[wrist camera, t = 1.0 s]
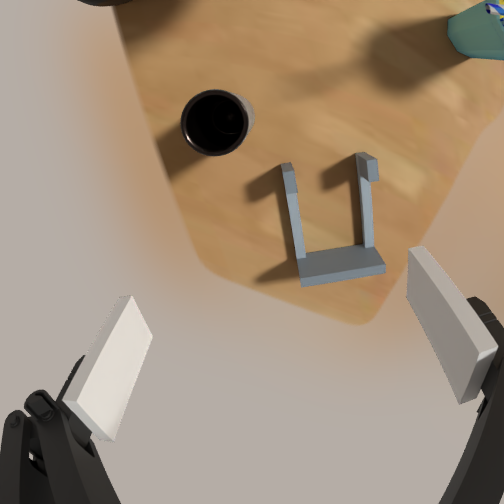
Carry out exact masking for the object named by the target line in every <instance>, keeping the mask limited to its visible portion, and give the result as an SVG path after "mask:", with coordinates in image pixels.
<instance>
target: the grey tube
mask: <svg viewBox="0 0 504 504" xmlns="http://www.w3.org/2000/svg"><path fill="white" fill-rule="evenodd" d="M254 121H255V113H254V109H253V107H252V105H251V104H250V102H249V101H248V100H247V99H246V98H244V97H242V96H240V95H237V94H234V93H231V92H228V91H224V90H219V89H212V90H206V91H203V92H201V93H199V94H197V95H195V96H194V97H193V98H192V99H191V100H190V101H189V102H188V103H187V104H186V106H185V108H184V110H183V112H182V115H181V122H180V124H181V131H182V135H183V137H184V139H185V141H186V142H187V143H188V145H189V146H190V147H191V148H192V149H194V150H195V151H197V152H198V153H201V154H203V155H207V156H222V155H226V154H228V153H230V152H232V151H234V150H235V149H237V148H238V147H239V146H240V145H241V144H242V142H243V141H244V140H245V138H246V136H247V135H248V133H249V132H250V130H251V129H252V127H253V124H254Z"/></svg>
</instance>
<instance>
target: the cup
mask: <svg viewBox="0 0 504 504" xmlns="http://www.w3.org/2000/svg"><path fill="white" fill-rule="evenodd" d="M447 36H448V37H449V39H450V40H451V42H452V44H453V45H454V47H455V48H456V50H457V51H458V52H460V53H462V54H464V55H466V56H468V57H470V58H481V59H494V60H504V0H485V1H483V2H481V3H479V4H477V5H475V6H473V7H471V8H469V9H467V10H465V11H463V12H461V13H459V14H457V15H456V16H454V17H452V18H450V19H448V30H447Z"/></svg>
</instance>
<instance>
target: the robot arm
mask: <svg viewBox="0 0 504 504" xmlns="http://www.w3.org/2000/svg"><path fill="white" fill-rule="evenodd" d="M78 1H81V2H83V3H86V4H89V5H93V6H113V5H119V4H123V3H126V2H129V1H132V0H78ZM407 300H408V301H409V303H410V305H411V307H412V309H413V310H414V312H415V314H416V316H417V318H418V320H419V321H420V324H421V325H422V327H423V329H424V331H425V333H426V335H427V337H428V339H429V341H430V343H431V345H432V347H433V349H434V351H435V353H436V355H437V357H438V359H439V361H440V363H441V365H442V367H443V369H444V372H445V374H446V376H447V378H448V380H449V383H450V385H451V387H452V389H453V391H454V394H455V396H456V398H457V401H458V403H459V404H462V403H465V402H468V401H470V400H473V399H475V398H477V395H478V393H479V391H480V389H482V391H483V393H484V395H485V397H484V399H483V401H482V403H481V405H480V407H479V409H478V410H477V412H478V416H477V419H476V422H475V425H474V427H473V430H472V433H471V435H470V438H469V440H468V443H467V445H466V448H465V450H464V453H463V455H462V457H461V459H460V462H459V464H458V466H457V468H456V471H455V473H454V475H453V477H452V479H451V481H450V483H449V485H448V487H447V489H446V491H445V493H444V495H443V497H442V498H441V500H440V502H439V504H499V503H500V500H501V498H502V495H503V492H504V328H503V326H502V325H501V323H500V322H499V321H498V320H497V319H496V317H495V315H494V314H493V313H492V312H491V310H490V309H489V307H488V306H487V305H486V303H485V302H483V301H482V300H480V299H478V298H477V297H471V298H468V299H465V297H464V296H463V295H462V293H461V292H460V291H459V289H458V288H457V287H456V285H455V284H454V283H453V282H452V280H451V279H450V278H449V277H448V275H447V274H446V273H445V272H444V270H443V269H442V268H441V266H440V265H439V264H438V263H437V261H436V260H435V259H434V258H433V257H432V255H431V254H430V253H429V252H428V251H427V249H426V248H425V247H424V246H418V247H413V248H408V280H407ZM152 338H153V336H152V334H151V332H150V330H149V328H148V327H147V324H146V322H145V320H144V319H143V317H142V314H141V312H140V311H139V308H138V306H137V304H136V303H135V300H134V298H133V296H132V295H131V296H124V297H119V299H118V300H117V302H116V304H115V305H114V307H113V309H112V311H111V312H110V314H109V315H108V317H107V319H106V320H105V322H104V324H103V326H102V327H101V329H100V331H99V333H98V334H97V336H96V338H95V340H94V341H93V343H92V345H91V347H90V348H89V350H88V352H87V354H86V355H83V356H82V357H81V358H80V359H79V360H78V361H77V362H76V364H75V366H74V367H73V370H72V371H71V372H72V373H70V375H69V377H68V380H66V382H65V384H64V386H63V388H62V390H61V392H60V394H59V396H58V397H57V399H56V401H54V400H53V399H52V398H51V396H50V395H49V394H48V393H47V392H46V391H45V390H37V391H35V392H33V393H32V394H30V395H29V397H28V398H27V399H26V402H25V404H24V409H25V410H26V411H27V412H28V413H29V414H30V415H31V417H27V416H26V415H25V414H24V413H23V412H22V411H20V410H15V411H13V412H12V413H10V414H9V415H8V417H7V418H6V420H5V423H4V429H3V436H2V443H1V451H0V504H121V503H120V501H119V499H118V497H117V495H116V493H115V491H114V488H113V486H112V484H111V482H110V480H109V478H108V476H107V473H106V471H105V469H104V467H103V464H102V462H101V459H100V457H99V455H98V452H97V450H96V447H95V445H94V443H93V441H92V440H91V439H90V436H91V433H93V434H95V436H96V437H97V438H98V439H99V440H104V441H112V442H114V440H115V437H116V434H117V431H118V428H119V425H120V423H121V420H122V417H123V414H124V412H125V409H126V406H127V403H128V401H129V398H130V395H131V392H132V389H133V387H134V384H135V382H136V379H137V376H138V373H139V371H140V369H141V366H142V363H143V361H144V358H145V356H146V353H147V350H148V348H149V346H150V343H151V340H152ZM29 452H30V453H31V454H32V455H33V460H31V459H30V458H29Z"/></svg>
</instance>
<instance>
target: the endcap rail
mask: <svg viewBox="0 0 504 504" xmlns="http://www.w3.org/2000/svg"><path fill="white" fill-rule="evenodd" d="M355 157H356V165H357V174H358V184H359V195H360V206H361V220H362V235H363V244H359V245H353V246H347V247H341V248H335V249H329V250H323V251H316V252H310V253H305V246H304V239H303V232H302V225H301V219H300V212H299V206H298V200H297V193H298V191H297V185H296V179H295V173H294V169H293V167H292V164H291V162H289V163H283V164H281V168H282V174H283V179H284V185H285V191H286V196H287V202H288V208H289V214H290V220H291V226H292V232H293V238H294V245H295V251H296V258H297V264H298V270H299V276H300V282H301V287H307V286H313V285H319V284H325V283H331V282H337V281H343V280H349V279H355V278H361V277H366V276H372V275H377V274H383V273H386V264H385V262H384V261H383V259H382V258H381V256H380V255H379V253H378V252H377V250H376V249H375V247H374V231H373V212H372V198H371V185H370V182H374V181H379V174H378V163H377V159H376V158H374V157H372V156H371V155H369V154H367V153H365V152H361V153H355Z"/></svg>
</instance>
